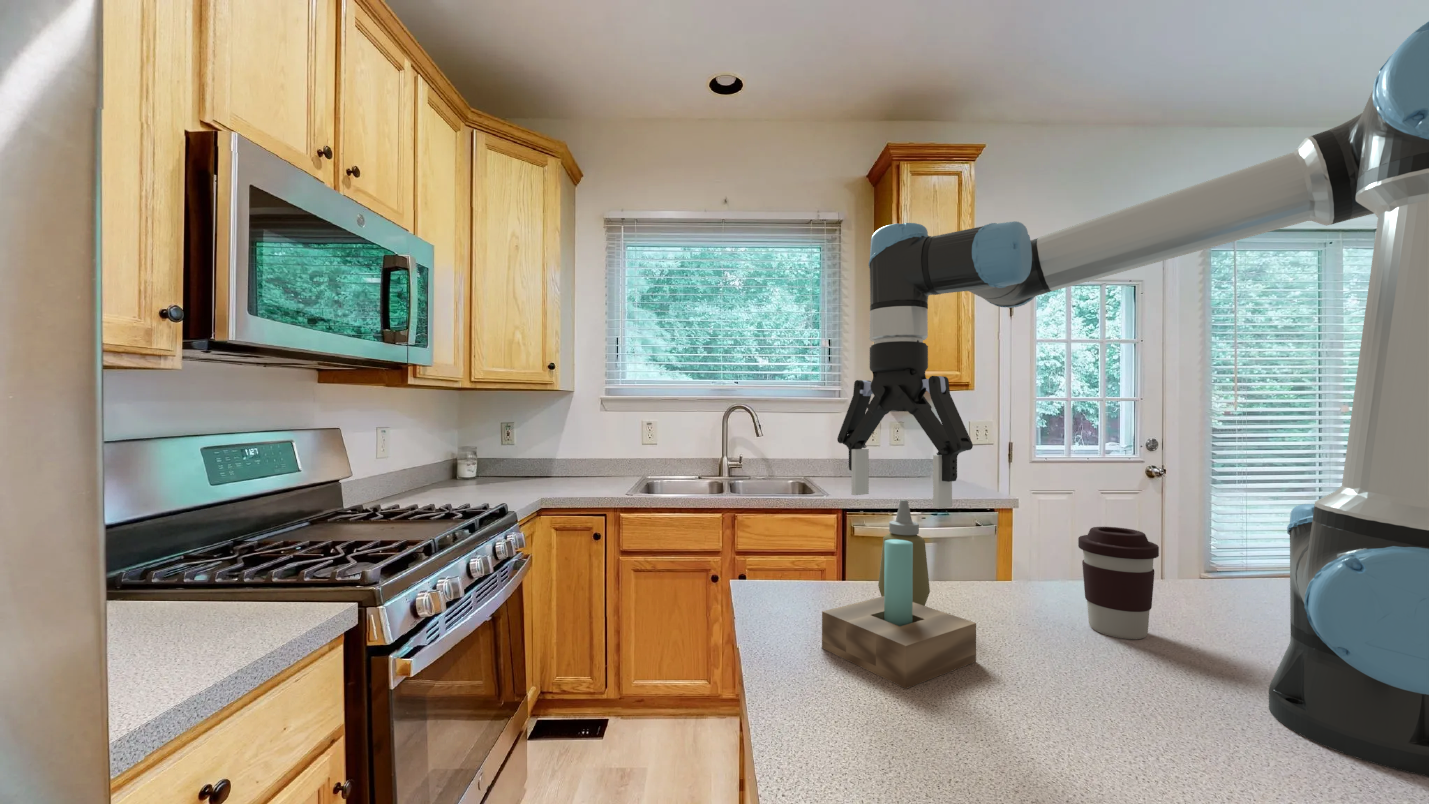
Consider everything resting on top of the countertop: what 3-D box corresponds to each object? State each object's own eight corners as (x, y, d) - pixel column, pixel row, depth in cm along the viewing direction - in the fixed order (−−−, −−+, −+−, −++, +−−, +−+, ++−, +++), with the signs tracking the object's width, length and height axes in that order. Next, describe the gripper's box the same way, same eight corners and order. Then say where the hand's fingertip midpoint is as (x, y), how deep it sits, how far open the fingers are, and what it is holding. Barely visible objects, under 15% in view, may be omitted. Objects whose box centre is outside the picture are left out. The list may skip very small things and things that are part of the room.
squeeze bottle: (937, 620, 92) (937, 504, 92) (885, 619, 92) (885, 504, 92) (920, 603, 100) (920, 497, 100) (872, 602, 100) (873, 496, 100)
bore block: (976, 661, 76) (976, 623, 76) (905, 688, 69) (905, 645, 69) (890, 628, 88) (890, 594, 88) (821, 648, 80) (822, 611, 81)
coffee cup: (1132, 620, 92) (1132, 525, 92) (1175, 645, 82) (1175, 538, 82) (1066, 618, 93) (1065, 523, 93) (1100, 642, 83) (1100, 536, 83)
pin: (918, 649, 78) (918, 543, 78) (900, 655, 76) (900, 546, 76) (896, 640, 81) (896, 538, 81) (878, 645, 79) (878, 541, 79)
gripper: (1002, 334, 71) (1003, 511, 70) (849, 352, 92) (849, 488, 91) (965, 329, 67) (966, 517, 66) (813, 349, 87) (813, 491, 87)
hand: (898, 500), depth 79 cm, fingers open, 13 cm apart
